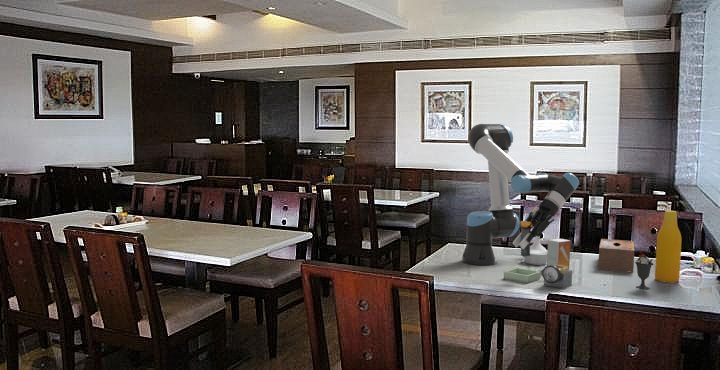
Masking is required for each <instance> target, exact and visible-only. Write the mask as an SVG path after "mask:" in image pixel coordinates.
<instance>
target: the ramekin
mask: <svg viewBox="0 0 720 370" xmlns="http://www.w3.org/2000/svg"><path fill="white" fill-rule="evenodd" d="M547 251H548V250H547ZM547 251H543V250H530V256H524V260H525V262H526V264H529V265H537V266H538V265H539V266H542V265H547Z"/></svg>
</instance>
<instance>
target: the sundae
mask: <svg viewBox="0 0 720 370" xmlns="http://www.w3.org/2000/svg"><path fill="white" fill-rule="evenodd" d="M637 251H638V252H639V255H638V258H637V259H636V261H634V264H636V272H637V276H638V278H640V280H641V281H640V284H639V285H637V286H635V288H636V289H638V288H639V290H644V289H646V291H647V290H650V287H648V286H647V285H646V283H645V282H646V281H645V280H646V279H648V278H649V277H650V273H651V268H652V266H654V265H655V264H654V263H653V259H654V258H651V259H650V258H649V257H648V256H646V255H645V254H644V253H643V252H642V251H641V250H640V249H639V250H637Z"/></svg>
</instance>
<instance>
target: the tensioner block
mask: <svg viewBox="0 0 720 370" xmlns="http://www.w3.org/2000/svg"><path fill="white" fill-rule="evenodd" d="M541 277H542V279H543V286H545V287H546V286H547V287H551V288H557V289H562V290H564V289H566V288H569V287H571V286H572V283H573V282H572V281H573V269H572V270H571V269H570V266H569V267H567V266H561V265H549V266H547V265H546V266H545V267H544V268H543V269H542V271H541Z"/></svg>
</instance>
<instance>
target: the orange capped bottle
mask: <svg viewBox="0 0 720 370" xmlns="http://www.w3.org/2000/svg"><path fill="white" fill-rule="evenodd" d="M519 227H522V231H520V232H521V241H522V240H523V239H524V237H525V236H526V235H527V234H528V233H530V232H529V231H532V229H531V227H532V221H525V220H520V221H519ZM530 234H531V233H530ZM530 246H531V241H530V242H529V243H528V244H527V246H526V247H525V248H524V249H522V248H521V247H520V256H522V257H525V256H530Z"/></svg>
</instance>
